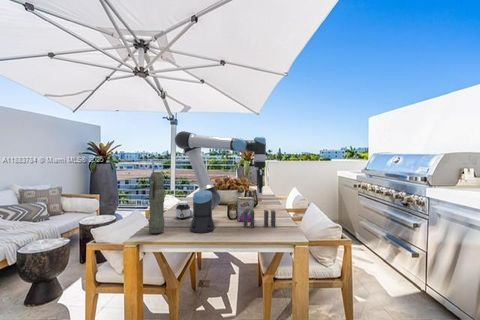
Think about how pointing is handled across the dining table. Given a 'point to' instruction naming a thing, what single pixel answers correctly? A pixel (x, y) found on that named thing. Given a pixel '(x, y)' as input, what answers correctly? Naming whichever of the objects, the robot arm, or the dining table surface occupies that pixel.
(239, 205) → the candy bar box
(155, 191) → the thermos
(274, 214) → the domino
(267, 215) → the domino
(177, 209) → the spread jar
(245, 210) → the domino
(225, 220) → the dining table surface
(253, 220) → the domino
